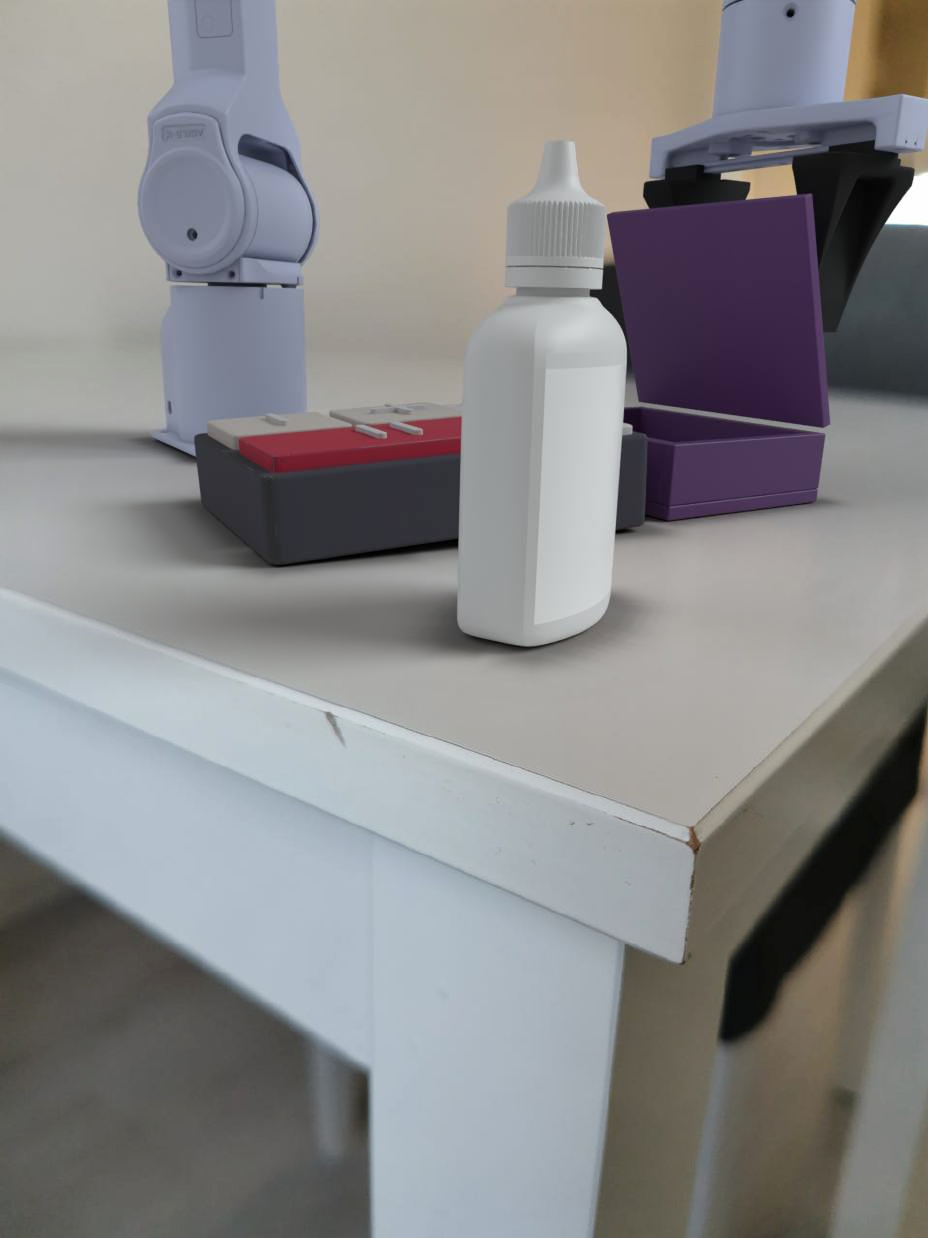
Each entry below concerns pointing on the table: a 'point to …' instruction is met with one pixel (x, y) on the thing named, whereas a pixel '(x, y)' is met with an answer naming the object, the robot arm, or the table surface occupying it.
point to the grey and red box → (355, 479)
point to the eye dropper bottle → (542, 425)
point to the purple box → (723, 464)
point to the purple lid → (725, 307)
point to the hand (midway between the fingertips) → (752, 329)
